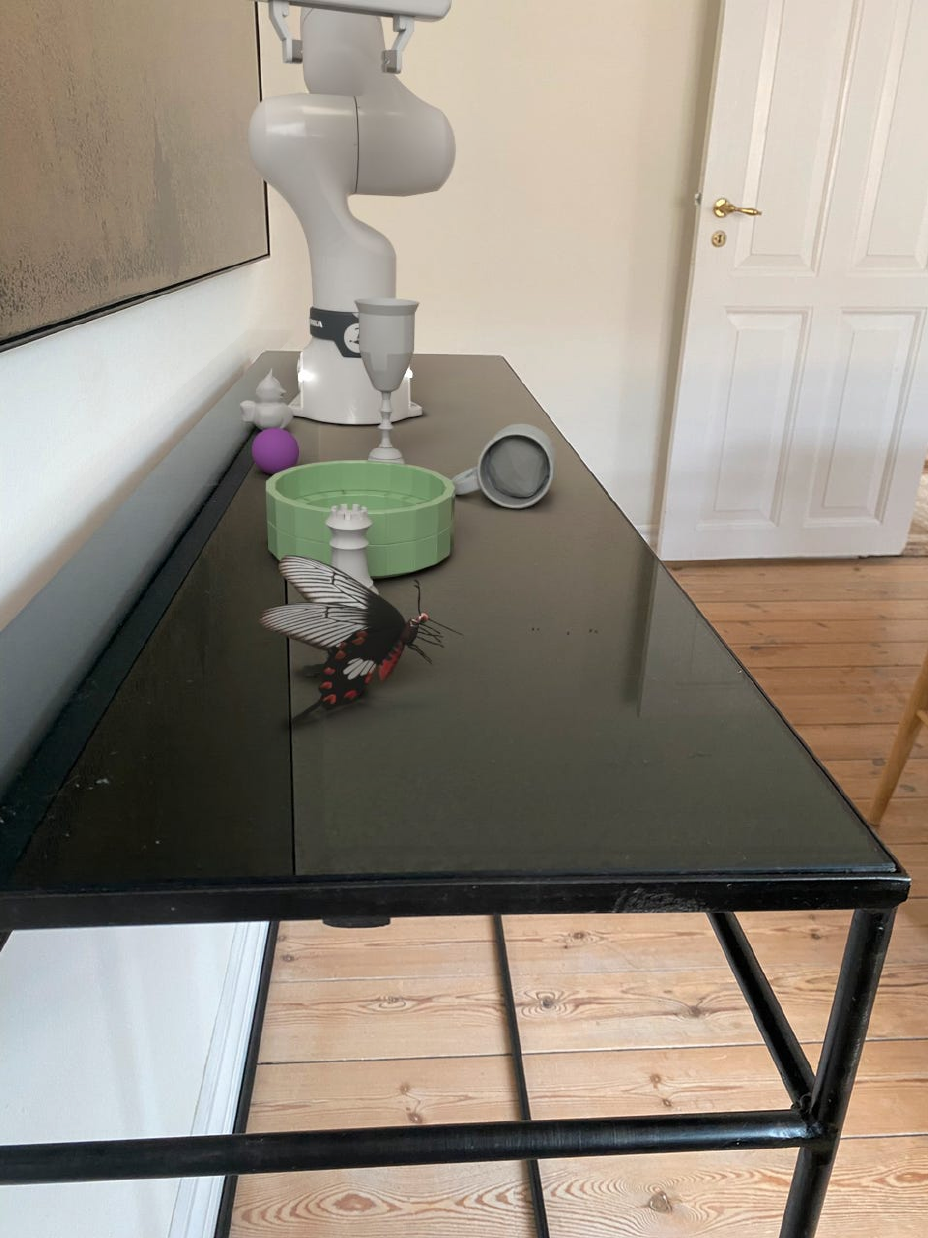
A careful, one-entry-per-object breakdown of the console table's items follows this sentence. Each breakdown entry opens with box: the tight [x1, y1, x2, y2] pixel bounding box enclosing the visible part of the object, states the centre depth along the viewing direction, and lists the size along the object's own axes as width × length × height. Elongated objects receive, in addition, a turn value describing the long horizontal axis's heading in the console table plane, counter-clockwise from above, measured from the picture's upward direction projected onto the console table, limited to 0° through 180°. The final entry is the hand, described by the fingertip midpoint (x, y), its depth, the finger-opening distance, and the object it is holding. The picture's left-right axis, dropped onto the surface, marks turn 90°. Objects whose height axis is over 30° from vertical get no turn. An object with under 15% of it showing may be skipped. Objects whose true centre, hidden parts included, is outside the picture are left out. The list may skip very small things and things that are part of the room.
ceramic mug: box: [450, 423, 557, 509], centre depth 95 cm, size 11×8×8 cm
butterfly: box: [258, 555, 464, 725], centre depth 54 cm, size 11×8×10 cm
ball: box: [251, 428, 300, 476], centre depth 100 cm, size 5×5×5 cm
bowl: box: [265, 459, 456, 580], centre depth 79 cm, size 16×16×6 cm
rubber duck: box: [239, 368, 294, 431], centre depth 117 cm, size 5×7×8 cm
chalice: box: [354, 298, 420, 464], centre depth 100 cm, size 7×7×18 cm
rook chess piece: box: [325, 504, 380, 596], centre depth 66 cm, size 4×4×8 cm
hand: (343, 68), depth 86 cm, fingers open, 8 cm apart
